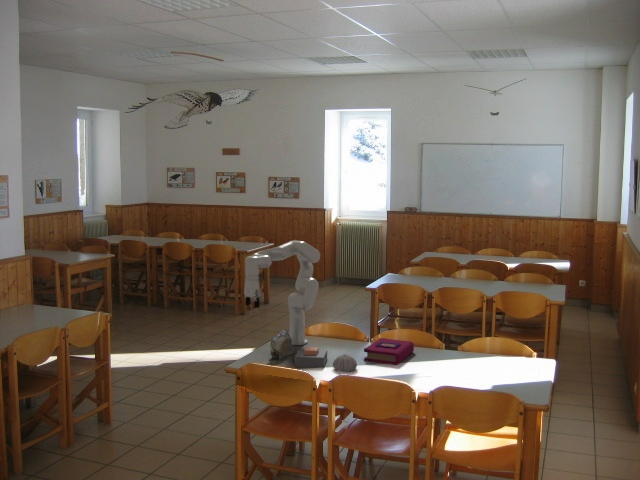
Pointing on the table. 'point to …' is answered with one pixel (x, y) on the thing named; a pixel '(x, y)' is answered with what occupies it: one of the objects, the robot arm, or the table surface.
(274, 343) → the fossil rock
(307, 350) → the button
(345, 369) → the sea urchin shell
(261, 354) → the table surface
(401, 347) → the book
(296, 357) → the button box
